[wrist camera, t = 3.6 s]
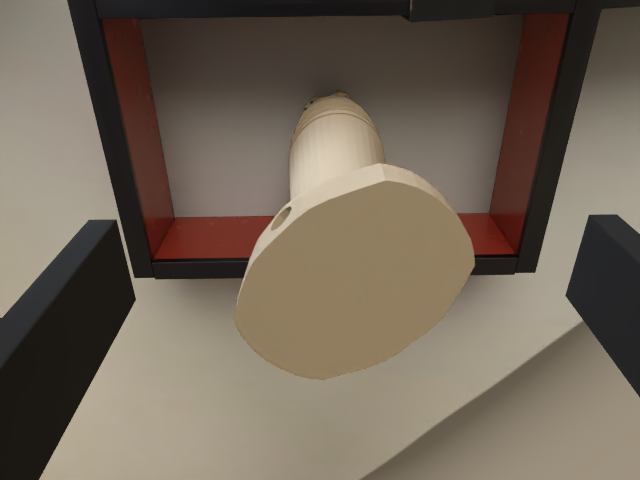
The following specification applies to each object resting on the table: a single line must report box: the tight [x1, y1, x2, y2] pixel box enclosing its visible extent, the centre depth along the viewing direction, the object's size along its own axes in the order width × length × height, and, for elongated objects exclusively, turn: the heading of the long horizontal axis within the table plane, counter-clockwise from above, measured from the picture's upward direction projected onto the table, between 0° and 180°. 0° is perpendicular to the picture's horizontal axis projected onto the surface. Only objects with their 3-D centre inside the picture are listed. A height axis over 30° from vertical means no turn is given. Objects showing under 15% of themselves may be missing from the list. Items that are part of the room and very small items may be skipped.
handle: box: [233, 91, 475, 380], centre depth 19 cm, size 5×6×15 cm
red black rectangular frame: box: [67, 0, 603, 279], centre depth 23 cm, size 13×20×5 cm, turn 91°
